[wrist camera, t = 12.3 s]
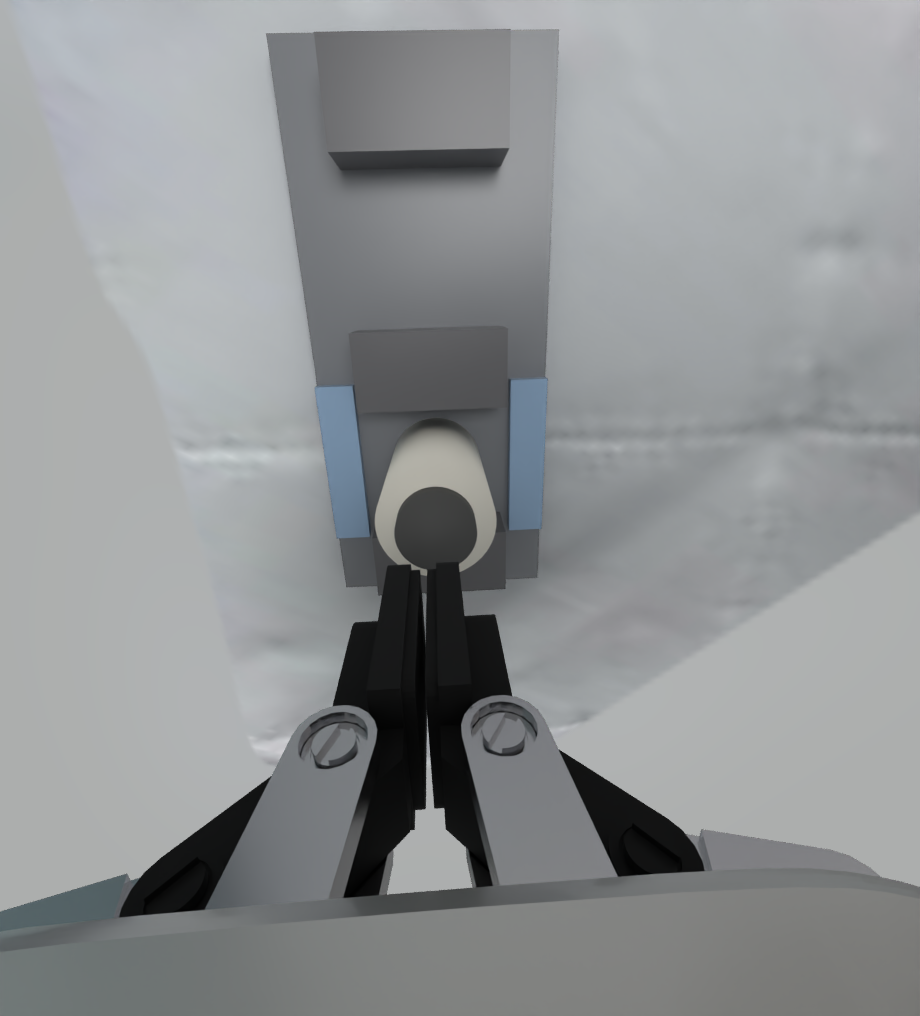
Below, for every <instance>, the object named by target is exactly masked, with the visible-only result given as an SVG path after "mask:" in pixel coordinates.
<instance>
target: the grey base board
mask: <svg viewBox="0 0 920 1016" xmlns="http://www.w3.org/2000/svg"><path fill="white" fill-rule="evenodd" d="M266 36H267V43H268V50H269V56H270V63H271V70H272V77H273V84H274V91H275V98H276V105H277V112H278V118H279V125H280V132H281V139H282V146H283V153H284V160H285V167H286V174H287V180H288V187H289V194H290V201H291V208H292V215H293V222H294V229H295V236H296V242H297V249H298V256H299V263H300V270H301V277H302V284H303V291H304V298H305V304H306V311H307V318H308V325H309V332H310V339H311V346H312V353H313V360H314V366H315V373H316V380H317V386H316V387H315V394H316V400H317V407H318V414H319V421H320V427H321V434H322V441H323V448H324V455H325V461H326V468H327V475H328V482H329V488H330V495H331V502H332V509H333V516H334V522H335V529H336V536H337V538H339V539H340V546H341V553H342V559H343V566H344V573H345V580H346V587H362V586H378V595H382V594H383V588H384V582H385V576H386V571H387V566H388V565H398V564H397V563H395V562H394V561H393V560H392V559H391V558H390V557H389V556H388V555H387V554H386V552H385V551H384V550H383V548H382V546H381V544H380V542H379V540H378V537H377V534H376V530H375V513H376V508H377V505H378V501H379V498H380V495H381V492H382V489H383V485H384V482H385V479H386V476H387V472H388V469H389V466H390V463H391V460H392V456H393V453H394V450H395V447H396V444H397V442H398V440H399V438H400V436H401V435H402V434H403V432H404V431H405V430H406V429H407V428H409V427H410V426H411V425H413V424H414V423H416V422H418V421H421V420H424V419H428V418H444V419H449V420H451V421H454V422H456V423H458V424H460V425H461V426H463V427H464V428H465V429H466V430H467V431H468V432H469V433H470V434H471V436H472V437H473V439H474V440H475V443H476V445H477V448H478V451H479V455H480V458H481V462H482V465H483V469H484V472H485V476H486V479H487V483H488V486H489V490H490V493H491V497H492V500H493V504H494V507H495V511H496V518H497V521H496V531H495V535H494V538H493V541H492V543H491V545H490V547H489V549H488V550H487V552H486V553H485V554H484V555H483V557H482V558H481V559H480V560H478V561H477V562H476V563H475V564H473V565H472V566H471V567H469V568H467V569H465V570H463V571H461V572H460V580H461V589H462V591H476V590H495V589H505V584H506V579H519V578H537V570H538V544H539V529H541V525H542V501H543V477H544V453H545V429H546V405H547V381H548V379H547V378H546V377H545V369H546V344H547V319H548V294H549V269H550V243H551V218H552V193H553V168H554V143H555V118H556V93H557V68H558V43H559V29H546V30H511V29H485V30H415V31H345V32H314V33H267V34H266ZM421 587H422V593H427V576H424V575H421Z"/></svg>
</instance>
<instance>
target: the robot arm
mask: <svg viewBox="0 0 920 1016" xmlns="http://www.w3.org/2000/svg"><path fill="white" fill-rule="evenodd" d="M427 718H428V731H429V744H430V757H431V770H432V784H433V796H434V808H444V809H445V824H446V830H447V831H449V832H450V833H451V834H452V835H453V836H454V837H455V838H456V839H457V840H458V841H460V842H461V843H462V844H463V845H464V846H465V847H466V856H467V863H468V868H469V873H470V877H471V882H472V887H473V888H464V889H453V890H452V889H451V890H439V891H426V892H414V893H403V894H402V893H401V894H389V895H387V890H388V885H389V880H390V876H391V871H392V866H393V849H394V848H395V847H396V846H397V845H398V844H399V843H400V842H401V840H403V838H404V837H405V836H406V835H407V834H408V833H409V832H410V830H415V829H414V828H415V810H422V809H425V808H426V743H427ZM0 1016H920V887H918V886H914V885H911V884H908V883H904V882H900V881H896V880H891V879H887V878H882V877H880V876H879V875H878V874H877V873H876V872H874V871H873V870H872V869H871V868H870V867H868V866H866V865H865V864H863V863H861V862H859V861H858V860H856V859H854V858H853V857H851V856H849V855H846V854H843V853H839V852H836V851H833V850H829V849H822V848H817V847H810V846H804V845H797V844H792V843H785V842H779V841H773V840H766V839H760V838H754V837H747V836H741V835H734V834H728V833H722V832H715V831H709V830H703V829H702V830H701V833H700V836H694V835H688V834H685V833H684V832H683V831H682V830H681V829H680V828H679V827H677V826H676V825H675V824H674V823H672V822H671V821H670V820H669V819H667V818H666V817H664V816H662V815H661V814H659V813H658V812H656V811H655V810H653V809H652V808H650V807H648V806H647V805H645V804H644V803H642V802H640V801H639V800H637V799H636V798H634V797H633V796H631V795H629V794H628V793H626V792H625V791H623V790H622V789H620V788H619V787H617V786H615V785H614V784H612V783H610V782H609V781H608V780H606V779H604V778H603V777H601V776H600V775H598V774H596V773H595V772H593V771H592V770H590V769H589V768H587V767H586V766H584V765H582V764H581V763H579V762H578V761H576V760H575V759H573V758H571V757H570V756H568V755H567V754H565V753H563V752H562V751H560V750H559V749H558V748H557V745H556V743H555V741H554V739H553V737H552V734H551V732H550V730H549V728H548V726H547V724H546V722H545V719H544V718H543V716H542V715H541V714H540V712H539V711H538V709H536V708H535V707H534V706H533V705H531V704H530V703H529V702H527V701H525V700H522V699H520V698H518V697H513V696H512V693H511V688H510V683H509V678H508V673H507V669H506V664H505V659H504V654H503V649H502V645H501V640H500V635H499V630H498V625H497V620H496V617H495V615H494V614H492V615H475V616H464V608H463V598H462V589H461V580H460V570H459V562H441V563H436V569H427V607H426V643H425V629H424V615H423V601H422V587H421V574H420V570H412V568H411V564H404V565H388V566H387V571H386V576H385V582H384V588H383V594H382V600H381V606H380V612H379V618H378V621H372V622H355V623H354V624H353V627H352V630H351V634H350V638H349V642H348V646H347V650H346V654H345V658H344V662H343V666H342V670H341V674H340V679H339V683H338V687H337V691H336V695H335V699H334V703H333V707H329V708H326V709H323V710H320V711H319V712H317V713H315V714H313V715H311V716H309V717H308V718H307V719H306V720H305V721H304V722H303V723H301V724H300V725H299V726H298V728H297V729H296V731H295V732H294V734H293V735H292V737H291V739H290V741H289V743H288V744H287V746H286V748H285V750H284V752H283V754H282V756H281V758H280V760H279V762H278V764H277V766H276V768H275V770H274V772H273V774H272V776H271V777H270V778H268V779H267V780H266V781H264V782H263V783H261V784H260V785H259V786H257V787H256V788H255V789H253V790H252V791H251V792H249V793H248V794H247V795H245V796H244V797H243V798H241V799H240V800H239V801H237V802H236V803H234V804H233V805H232V806H230V807H229V808H228V809H227V810H225V811H224V812H222V813H221V814H220V815H218V816H217V817H216V818H214V819H213V820H212V821H210V822H209V823H207V824H206V825H205V826H204V827H202V828H201V829H199V830H198V831H197V832H195V833H194V834H193V835H191V836H190V837H188V838H187V839H186V840H184V841H183V842H182V843H180V844H179V845H178V846H176V847H175V848H174V849H172V850H171V851H170V852H168V853H167V854H166V855H164V856H163V857H161V858H160V859H159V860H158V861H157V862H156V863H155V864H154V865H152V866H151V867H150V868H149V869H148V870H147V871H146V872H145V873H144V874H143V875H142V876H141V878H138V879H134V880H131V881H130V878H129V876H128V874H124V875H121V876H117V877H114V878H111V879H107V880H104V881H101V882H97V883H94V884H91V885H87V886H84V887H81V888H77V889H74V890H71V891H67V892H64V893H61V894H57V895H54V896H51V897H47V898H44V899H41V900H37V901H34V902H31V903H27V904H24V905H21V906H17V907H14V908H11V909H7V910H4V911H1V912H0Z"/></svg>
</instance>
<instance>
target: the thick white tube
mask: <svg viewBox="0 0 920 1016" xmlns="http://www.w3.org/2000/svg"><path fill="white" fill-rule="evenodd" d="M496 521H497V518H496V511H495V507H494V504H493V500H492V497H491V493H490V490H489V486H488V483H487V479H486V476H485V472H484V469H483V465H482V462H481V458H480V455H479V451H478V448H477V445H476V443H475V440H474V439H473V437H472V436H471V434H470V433H469V432H468V431H467V430H466V429H465V428H464V427H463V426H461V425H460V424H458V423H456V422H454V421H451V420H449V419H444V418H428V419H424V420H421V421H418V422H416V423H414V424H413V425H411V426H410V427H409V428H407V429H406V430H405V431H404V432H403V434H402V435H401V436H400V438H399V440H398V442H397V444H396V447H395V450H394V453H393V456H392V460H391V463H390V466H389V469H388V472H387V476H386V479H385V482H384V485H383V489H382V492H381V495H380V498H379V501H378V505H377V508H376V513H375V530H376V534H377V537H378V540H379V542H380V544H381V546H382V548H383V550H384V551H385V552H386V554H387V555H388V556H389V557H390V558H391V559H392V560H393V561H394V562H395V563H397V564H398V565H404V564H411V568H412V570H420V574H421V575H424V576H427V569H436V563H441V562H459V570H460V572H461V571H463V570H465V569H467V568H469V567H471V566H472V565H473V564H475V563H476V562H477V561H478V560H480V559H481V558H482V557H483V555H484V554H485V553H486V552H487V550H488V549H489V547H490V545H491V543H492V541H493V538H494V535H495V531H496Z"/></svg>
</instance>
